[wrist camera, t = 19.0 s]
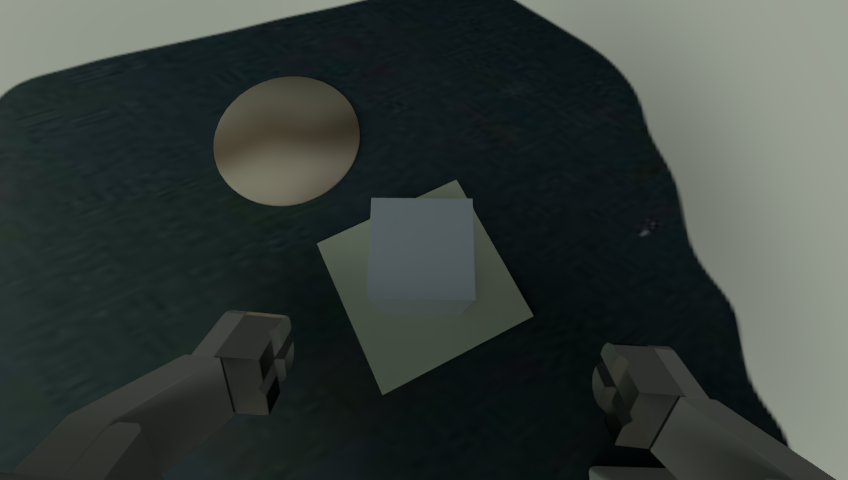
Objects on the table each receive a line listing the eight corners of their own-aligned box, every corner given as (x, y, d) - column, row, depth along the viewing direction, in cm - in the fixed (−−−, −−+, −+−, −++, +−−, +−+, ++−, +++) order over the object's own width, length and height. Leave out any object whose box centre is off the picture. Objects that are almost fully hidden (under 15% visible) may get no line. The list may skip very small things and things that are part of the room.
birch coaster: (383, 168, 26) (383, 167, 26) (242, 230, 25) (241, 229, 25) (327, 59, 28) (326, 57, 28) (196, 110, 27) (195, 108, 27)
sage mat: (532, 316, 23) (533, 316, 23) (382, 394, 22) (382, 395, 22) (456, 180, 26) (456, 179, 26) (317, 244, 24) (316, 243, 24)
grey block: (459, 315, 23) (475, 300, 16) (383, 315, 23) (366, 299, 16) (458, 242, 24) (472, 198, 17) (385, 241, 24) (371, 198, 17)
